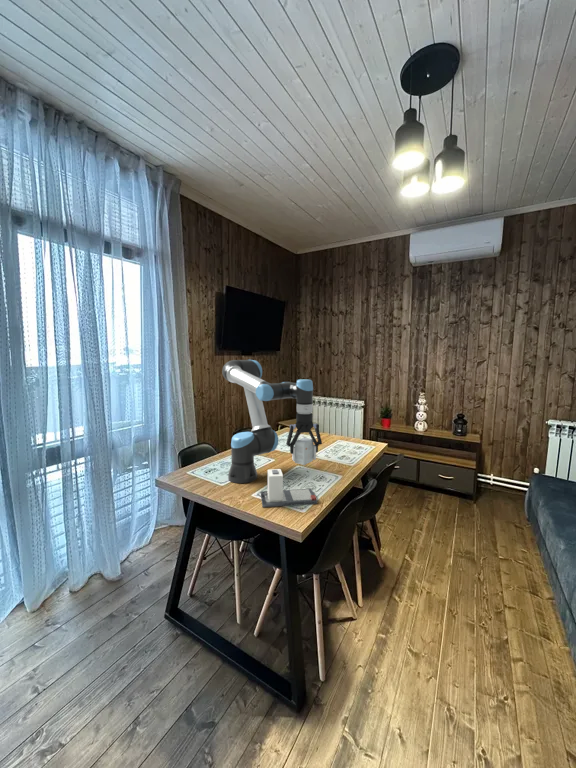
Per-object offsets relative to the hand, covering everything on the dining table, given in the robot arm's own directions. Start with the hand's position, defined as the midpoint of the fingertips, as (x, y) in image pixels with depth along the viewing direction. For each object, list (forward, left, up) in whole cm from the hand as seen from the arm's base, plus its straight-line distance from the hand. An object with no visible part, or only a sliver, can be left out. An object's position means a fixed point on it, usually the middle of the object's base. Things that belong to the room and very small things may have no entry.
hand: (304, 459), depth 145 cm
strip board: (-8, -6, -16) cm, 19 cm away
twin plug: (-14, -6, -14) cm, 21 cm away
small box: (0, 0, -1) cm, 1 cm away
